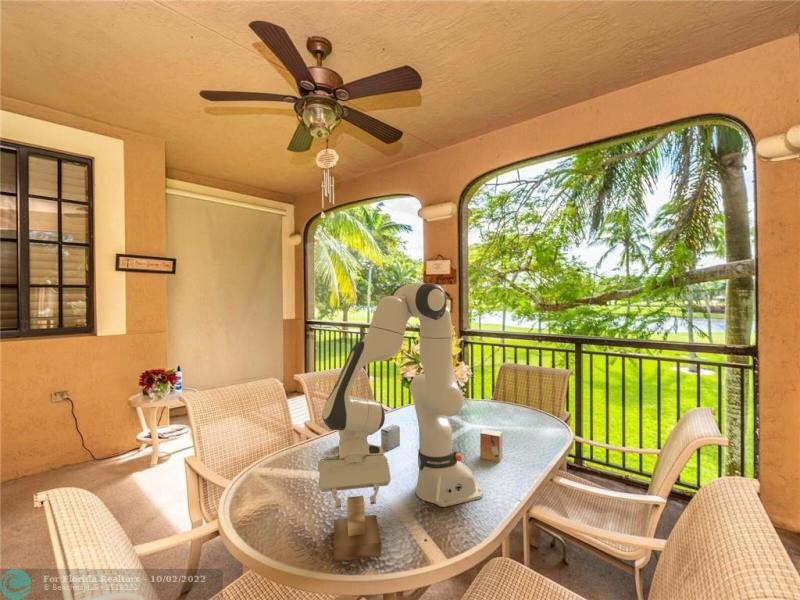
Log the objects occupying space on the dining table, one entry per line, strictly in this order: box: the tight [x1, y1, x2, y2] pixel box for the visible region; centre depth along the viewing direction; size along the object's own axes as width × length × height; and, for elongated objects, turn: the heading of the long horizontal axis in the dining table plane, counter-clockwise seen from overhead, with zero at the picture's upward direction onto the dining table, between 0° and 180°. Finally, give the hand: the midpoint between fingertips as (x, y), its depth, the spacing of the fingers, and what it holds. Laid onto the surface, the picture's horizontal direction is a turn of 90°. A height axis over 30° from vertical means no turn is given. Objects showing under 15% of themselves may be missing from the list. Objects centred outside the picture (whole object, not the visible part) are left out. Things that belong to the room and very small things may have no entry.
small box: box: [479, 428, 504, 463], centre depth 151 cm, size 8×6×10 cm
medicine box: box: [380, 424, 401, 451], centre depth 163 cm, size 8×4×9 cm, turn 141°
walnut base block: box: [333, 514, 382, 563], centre depth 100 cm, size 12×12×4 cm
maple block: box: [346, 495, 366, 536], centre depth 100 cm, size 4×4×8 cm
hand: (355, 505), depth 100 cm, fingers open, 8 cm apart
